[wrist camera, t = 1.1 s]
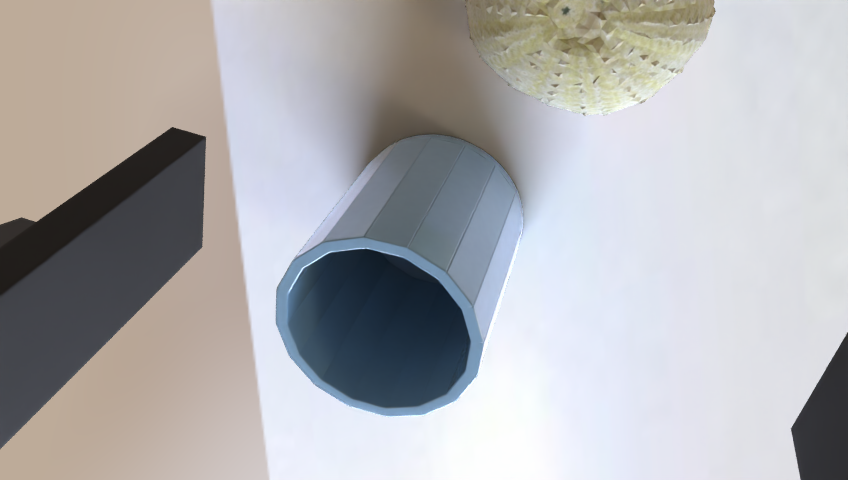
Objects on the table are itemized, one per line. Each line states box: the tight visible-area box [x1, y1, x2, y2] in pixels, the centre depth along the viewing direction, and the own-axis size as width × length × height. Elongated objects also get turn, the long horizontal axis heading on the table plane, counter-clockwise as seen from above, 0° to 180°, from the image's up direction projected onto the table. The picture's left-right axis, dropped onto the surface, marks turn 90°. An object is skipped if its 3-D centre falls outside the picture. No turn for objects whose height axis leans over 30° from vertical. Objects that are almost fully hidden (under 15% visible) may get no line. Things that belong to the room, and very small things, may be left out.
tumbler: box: [276, 134, 523, 417], centre depth 35 cm, size 8×8×10 cm
